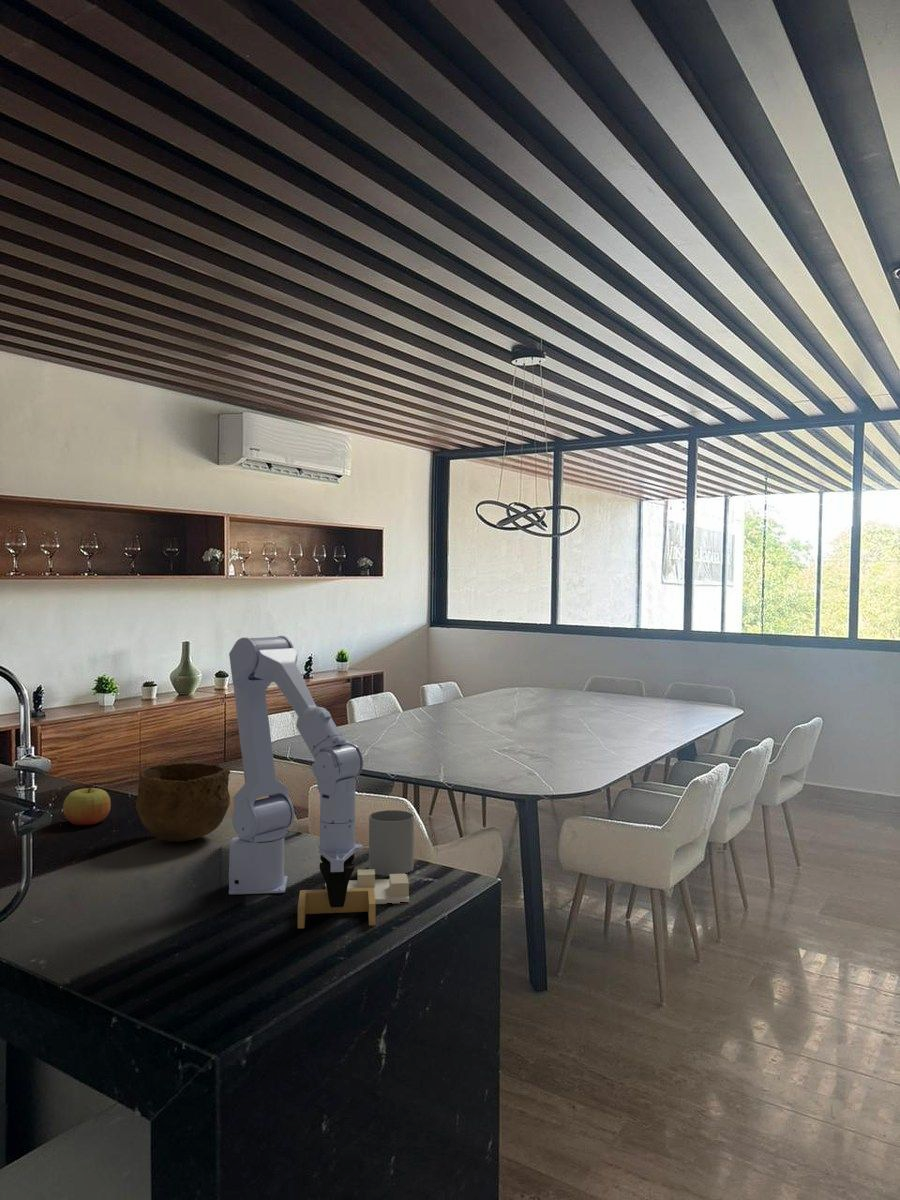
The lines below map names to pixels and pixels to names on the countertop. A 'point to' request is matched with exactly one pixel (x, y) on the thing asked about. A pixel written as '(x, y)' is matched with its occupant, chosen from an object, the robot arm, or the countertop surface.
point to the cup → (391, 842)
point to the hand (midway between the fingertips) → (337, 902)
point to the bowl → (182, 799)
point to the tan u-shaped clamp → (320, 904)
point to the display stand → (382, 886)
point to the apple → (87, 806)
